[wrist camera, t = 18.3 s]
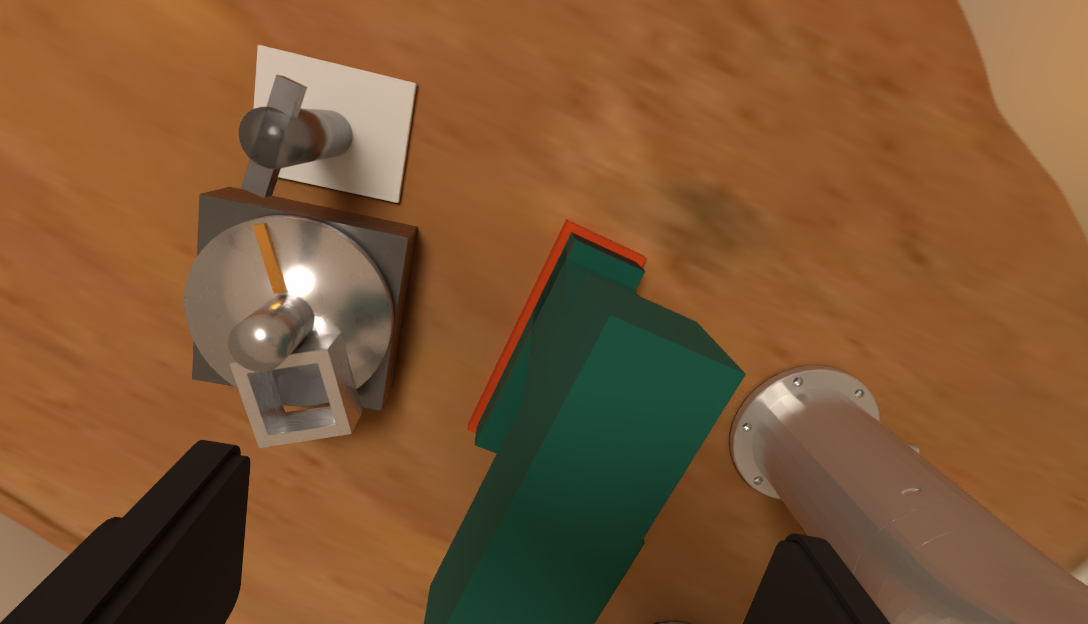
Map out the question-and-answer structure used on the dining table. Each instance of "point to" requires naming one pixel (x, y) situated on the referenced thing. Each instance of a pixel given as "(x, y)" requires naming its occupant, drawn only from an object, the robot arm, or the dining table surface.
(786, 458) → the robot arm
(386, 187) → the key mat
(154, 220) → the dining table surface
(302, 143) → the chuck key
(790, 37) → the dining table surface
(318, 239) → the collar
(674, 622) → the apothecary jar
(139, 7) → the dining table surface
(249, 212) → the stand
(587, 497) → the power tool
